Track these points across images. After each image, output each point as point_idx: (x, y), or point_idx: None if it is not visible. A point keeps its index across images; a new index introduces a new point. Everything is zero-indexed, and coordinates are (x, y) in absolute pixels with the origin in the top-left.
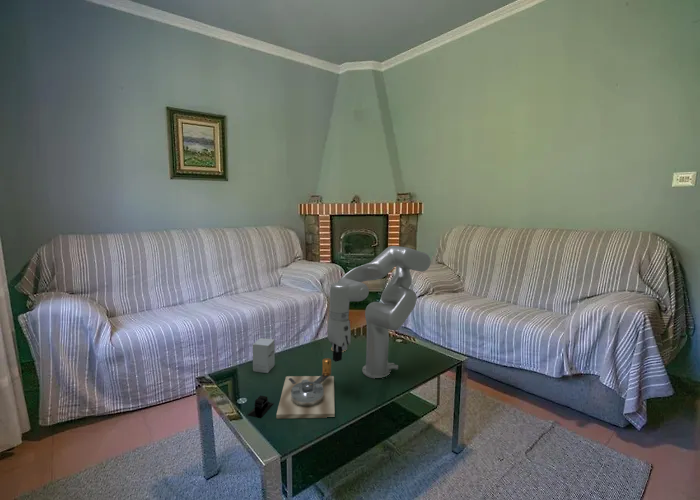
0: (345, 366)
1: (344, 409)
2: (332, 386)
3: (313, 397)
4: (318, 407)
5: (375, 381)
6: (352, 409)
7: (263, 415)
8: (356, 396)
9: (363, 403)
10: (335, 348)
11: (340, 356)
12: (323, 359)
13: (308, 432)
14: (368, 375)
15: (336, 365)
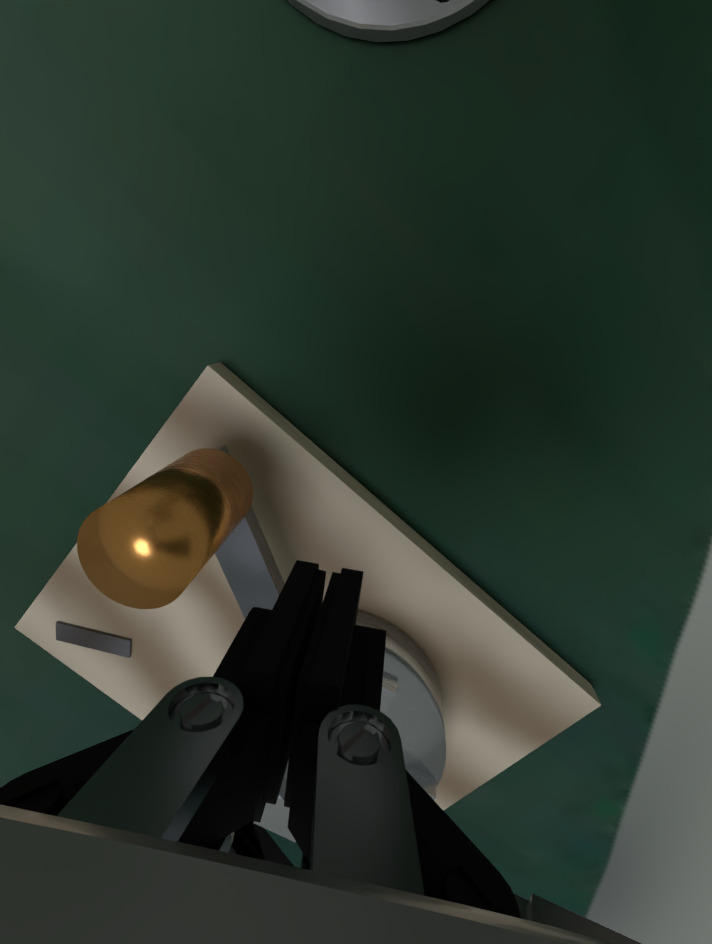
0: (79, 73)
1: (585, 589)
2: (337, 493)
3: (434, 780)
4: (469, 721)
5: (527, 41)
6: (632, 554)
7: (289, 863)
8: (548, 411)
9: (658, 443)
10: (235, 829)
11: (380, 669)
12: (96, 576)
13: (562, 829)
14: (417, 29)
15: (15, 144)
